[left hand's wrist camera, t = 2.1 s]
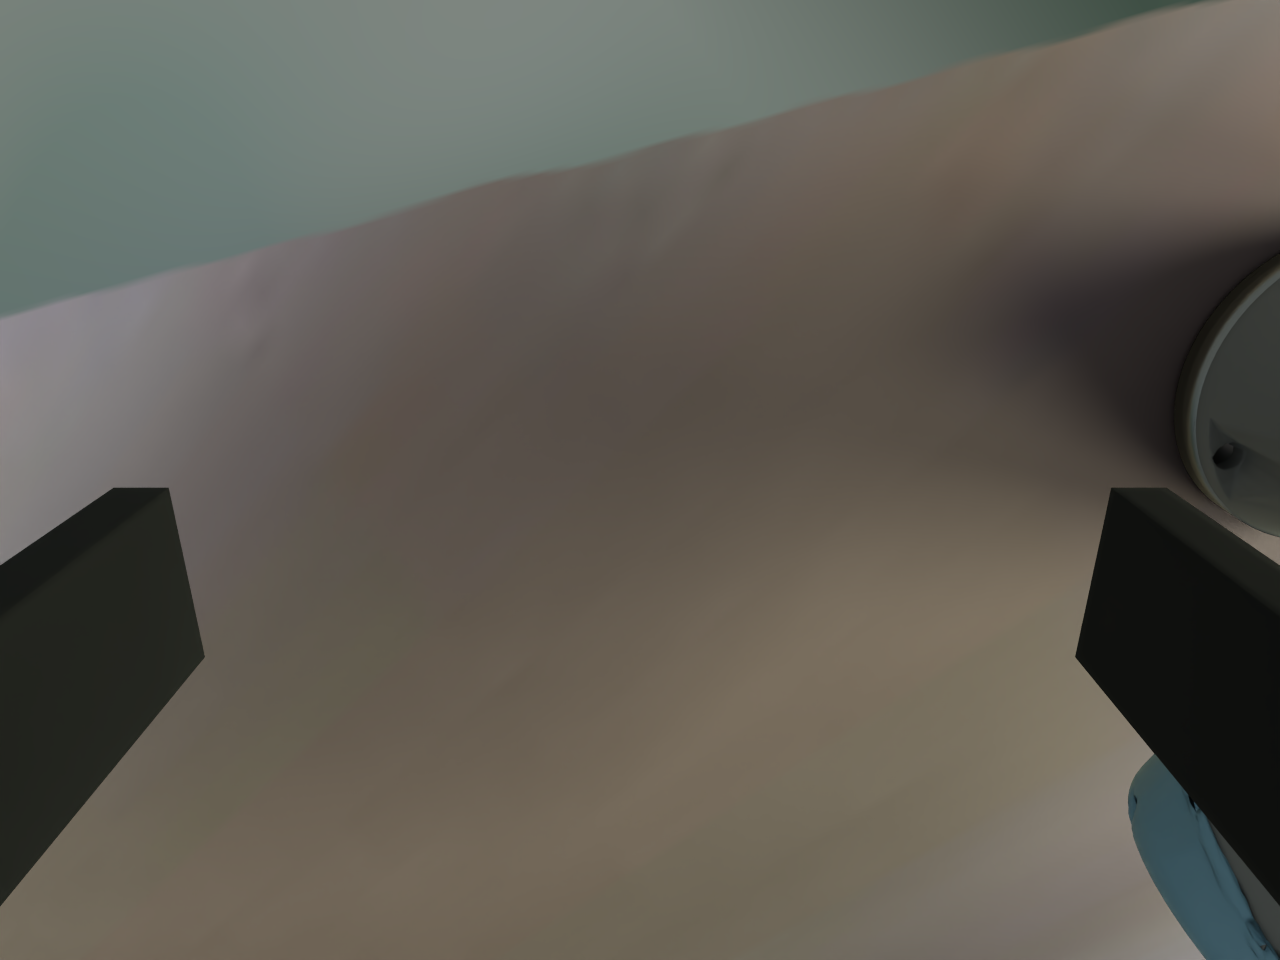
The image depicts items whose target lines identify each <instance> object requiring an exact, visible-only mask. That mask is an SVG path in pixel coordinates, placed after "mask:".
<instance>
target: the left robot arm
mask: <svg viewBox="0 0 1280 960" xmlns="http://www.w3.org/2000/svg"><path fill="white" fill-rule="evenodd" d="M1174 427H1175V436H1176V442H1177V447H1178V450H1179V453H1180V456H1181V459H1182V462H1183V464H1184V466H1185V468H1186V470H1187V472H1188V474H1189V475H1190V477H1191V478H1192V480H1193V482H1194V483H1195V484H1196V485H1197V487H1198V488H1199V489H1200V490H1201V491H1202V492H1203V493H1204V494H1205V495H1206V496H1207V497H1208V498H1209V499H1210V500H1211V501H1213V502H1214V503H1215V504H1217V505H1218V506H1219V507H1221V508H1222V509H1224V510H1225V511H1227V512H1228V513H1230V514H1231V515H1233V516H1234V517H1236V518H1237V519H1239V520H1241V521H1242V522H1244V523H1246V524H1247V525H1249V526H1251V527H1253V528H1255V529H1257V530H1260V531H1262V532H1264V533H1267V534H1270V535H1274V536H1277V537H1280V254H1278V255H1276V256H1275V257H1273V258H1272V259H1270V260H1269V261H1267V262H1266V263H1264V264H1263V265H1261V266H1260V267H1259V268H1257V269H1256V270H1255V271H1254V272H1252V273H1251V274H1250V275H1249V276H1247V277H1246V278H1245V279H1244V280H1243V281H1242V282H1241V283H1240V284H1239V285H1238V286H1237V287H1235V288H1234V289H1233V290H1232V291H1231V292H1230V293H1229V295H1228V296H1227V297H1226V298H1225V299H1224V300H1223V301H1222V302H1221V303H1220V305H1219V306H1218V307H1217V308H1216V310H1215V311H1214V312H1213V313H1212V315H1211V316H1210V317H1209V319H1208V320H1207V322H1206V323H1205V325H1204V326H1203V328H1202V329H1201V331H1200V332H1199V334H1198V336H1197V338H1196V340H1195V342H1194V343H1193V345H1192V347H1191V349H1190V352H1189V354H1188V356H1187V358H1186V361H1185V363H1184V366H1183V369H1182V372H1181V375H1180V379H1179V383H1178V387H1177V391H1176V398H1175V406H1174ZM204 657H205V656H204V651H203V646H202V642H201V637H200V632H199V628H198V623H197V618H196V614H195V609H194V604H193V600H192V595H191V590H190V586H189V581H188V576H187V572H186V567H185V562H184V558H183V553H182V548H181V544H180V539H179V534H178V529H177V525H176V520H175V515H174V511H173V506H172V501H171V497H170V492H169V488H113V489H111V490H110V491H108V492H107V493H105V494H104V495H102V496H101V497H99V498H98V499H96V500H95V501H94V502H92V503H91V504H89V505H88V506H86V507H85V508H83V509H82V510H80V511H79V512H78V513H76V514H75V515H73V516H72V517H70V518H69V519H67V520H66V521H64V522H63V523H62V524H60V525H59V526H57V527H56V528H54V529H53V530H51V531H50V532H48V533H47V534H45V535H44V536H43V537H41V538H40V539H38V540H37V541H35V542H34V543H32V544H31V545H29V546H28V547H27V548H25V549H24V550H22V551H21V552H19V553H18V554H16V555H15V556H13V557H12V558H10V559H9V560H8V561H6V562H5V563H3V564H2V565H0V906H1V905H2V903H3V902H4V901H5V900H6V899H7V897H8V896H9V895H10V894H11V892H12V891H13V890H14V889H15V888H16V886H17V885H18V884H19V883H20V881H21V880H22V879H23V878H24V877H25V875H26V874H27V873H28V872H29V871H30V869H31V868H32V867H33V866H34V864H35V863H36V862H37V861H38V860H39V858H40V857H41V856H42V855H43V853H44V852H45V851H46V850H47V849H48V847H49V846H50V845H51V844H52V842H53V841H54V840H55V839H56V838H57V836H58V835H59V834H60V833H61V832H62V830H63V829H64V828H65V827H66V825H67V824H68V823H69V822H70V821H71V819H72V818H73V817H74V816H75V814H76V813H77V812H78V811H79V810H80V808H81V807H82V806H83V805H84V804H85V802H86V801H87V800H88V799H89V797H90V796H91V795H92V794H93V793H94V791H95V790H96V789H97V788H98V786H99V785H100V784H101V783H102V782H103V780H104V779H105V778H106V777H107V775H108V774H109V773H110V772H111V771H112V769H113V768H114V767H115V766H116V765H117V763H118V762H119V761H120V760H121V758H122V757H123V756H124V755H125V754H126V752H127V751H128V750H129V749H130V747H131V746H132V745H133V744H134V743H135V741H136V740H137V739H138V738H139V737H140V735H141V734H142V733H143V732H144V730H145V729H146V728H147V727H148V726H149V724H150V723H151V722H152V721H153V719H154V718H155V717H156V716H157V715H158V713H159V712H160V711H161V710H162V708H163V707H164V706H165V705H166V704H167V702H168V701H169V700H170V699H171V698H172V696H173V695H174V694H175V693H176V691H177V690H178V689H179V688H180V687H181V685H182V684H183V683H184V682H185V680H186V679H187V678H188V677H189V676H190V674H191V673H192V672H193V671H194V670H195V668H196V667H197V666H198V665H199V663H200V662H201V661H202V660H203V659H204ZM1075 657H1076V659H1077V660H1078V661H1079V662H1080V663H1081V665H1082V666H1083V667H1084V668H1085V670H1086V671H1087V672H1088V673H1089V674H1090V676H1091V677H1092V678H1093V679H1094V680H1095V682H1096V683H1097V684H1098V685H1099V687H1100V688H1101V689H1102V690H1103V691H1104V693H1105V694H1106V695H1107V696H1108V698H1109V699H1110V700H1111V701H1112V702H1113V704H1114V705H1115V706H1116V707H1117V708H1118V710H1119V711H1120V712H1121V713H1122V715H1123V716H1124V717H1125V718H1126V719H1127V721H1128V722H1129V723H1130V724H1131V726H1132V727H1133V728H1134V729H1135V730H1136V732H1137V733H1138V734H1139V735H1140V737H1141V738H1142V739H1143V740H1144V741H1145V743H1146V744H1147V745H1148V746H1149V747H1150V749H1151V750H1152V751H1153V752H1154V755H1153V756H1152V757H1151V758H1150V759H1149V760H1148V761H1147V762H1146V763H1145V764H1144V765H1143V766H1142V767H1141V769H1140V770H1139V771H1138V772H1137V774H1136V775H1135V777H1134V779H1133V781H1132V783H1131V786H1130V790H1129V795H1128V806H1129V812H1128V814H1129V818H1130V821H1131V824H1132V832H1133V837H1134V840H1135V843H1136V845H1137V848H1138V850H1139V853H1140V855H1141V858H1142V860H1143V862H1144V864H1145V866H1146V868H1147V870H1148V872H1149V874H1150V876H1151V878H1152V880H1153V882H1154V883H1155V885H1156V887H1157V889H1158V890H1159V892H1160V894H1161V895H1162V897H1163V899H1164V901H1165V902H1166V904H1167V905H1168V907H1169V908H1170V910H1171V911H1172V913H1173V915H1174V916H1175V918H1176V919H1177V920H1178V922H1179V923H1180V925H1181V926H1182V928H1183V929H1184V931H1185V932H1186V934H1187V935H1188V936H1189V938H1190V939H1191V940H1192V942H1193V943H1194V944H1195V946H1196V947H1197V948H1198V950H1199V951H1200V952H1201V954H1202V955H1203V956H1204V958H1205V959H1206V960H1280V565H1278V564H1277V563H1275V562H1274V561H1272V560H1271V559H1270V558H1268V557H1267V556H1265V555H1264V554H1262V553H1261V552H1259V551H1258V550H1256V549H1255V548H1253V547H1252V546H1251V545H1249V544H1248V543H1246V542H1245V541H1243V540H1242V539H1240V538H1239V537H1237V536H1236V535H1235V534H1233V533H1232V532H1230V531H1229V530H1227V529H1226V528H1224V527H1223V526H1221V525H1220V524H1218V523H1217V522H1216V521H1214V520H1213V519H1211V518H1210V517H1208V516H1207V515H1205V514H1204V513H1202V512H1201V511H1200V510H1198V509H1197V508H1195V507H1194V506H1192V505H1191V504H1189V503H1188V502H1186V501H1185V500H1184V499H1182V498H1181V497H1179V496H1178V495H1176V494H1175V493H1173V492H1172V491H1170V490H1169V489H1167V488H1111V492H1110V497H1109V501H1108V506H1107V511H1106V515H1105V520H1104V525H1103V529H1102V534H1101V539H1100V544H1099V548H1098V553H1097V558H1096V562H1095V567H1094V572H1093V576H1092V581H1091V586H1090V590H1089V595H1088V600H1087V604H1086V609H1085V614H1084V618H1083V623H1082V628H1081V632H1080V637H1079V642H1078V646H1077V651H1076V656H1075Z"/></svg>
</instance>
